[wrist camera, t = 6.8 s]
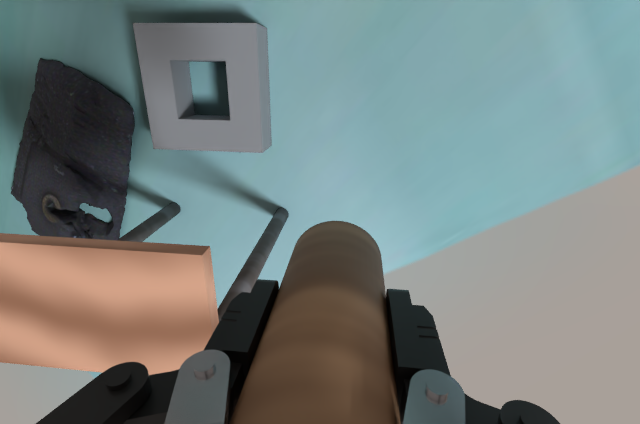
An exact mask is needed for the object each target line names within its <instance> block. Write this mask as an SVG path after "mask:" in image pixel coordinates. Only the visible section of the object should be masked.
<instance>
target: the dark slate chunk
mask: <svg viewBox="0 0 640 424" xmlns="http://www.w3.org/2000/svg"><path fill="white" fill-rule="evenodd" d="M134 122H135V121H134V111H133V108H132V107H131V106H130V105H129V104H127V103H126V102H125V101H124V100H123V99H121V98H120V97H118V96H116V95H114V94H113V93H111V92H110V91H108V90H107V89H106V88H104V87H103V85H101V84H98V83H97V82H95V81H92V80H91V79H88V78H87V77H85V76H84V75H83V74H82V73H81V72H79V71H77V70H75V69H72V68H70V67H65V65H63V64H62V63H61V62H59V61H54V60H48V61H47V60H42V59H41V58H40V60H39V63H38V69H37V73H36V79H35V91H34V93H33V94H32V99H31V102H30V109H29V112H28V116H27V119H26V121H25V126H24V130H23V139H22V141H21V142H20V143H19V144H20V149H19V154H18V157H17V162H16V165H17V167H16V169H15V173H14V181H13V183H14V185H13V186H12V191H11V194H12V195H13V196H14V197H15V198H16V200H18V201H19V202H20V203H22V204H23V207H24V208H25V210H26V211H27V219H28V221H29V223H30V225H31V227H32V230H33V231H34V232H35V233H36V234H38V235H40V236H51V237H68V238H84V239H100V240H116V241H117V240H118V239H119V237H120V229H121V223H122V220H123V215H124V211H125V208H124V206H125V204H126V198H125V197H126V195H127V180H128V177H129V172H130V170H129V162H130V160H131V156H130V155H131V146H132V135H133V131H134V126H135V123H134ZM81 203H86V204H89V206H93V207H97V208H98V207H99V208H101V209H104V208H106V209H108V211H109V212H110V214H111V216H112V218H113V222H111V223H106V222H104V221H102V220H99V219H97V218H96V217H94V216H93V215H92V214H90V213H87V214H85V212H84V211H83V210H81V209H79V206H80V204H81ZM90 204H91V205H90ZM91 237H92V238H91Z"/></svg>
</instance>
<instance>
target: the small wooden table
mask: <svg viewBox="0 0 640 424" xmlns="http://www.w3.org/2000/svg"><path fill="white" fill-rule="evenodd" d="M179 212H180V206H179V205H178V204H177V203H170V204H169V205H167V206H166V207H164V208H163V209H162V210H160V211H159V212H157V213H156V214H154V215H153V216H151V217H150V218H148V219H147V220H146V221H144V222H143V223H141V224H140V225H138V226H137V227H135V228H134V229H133V230H131V231H130V232H128V233H127V234H125V235H124V236H122V237H121V238H120V239H118V240H117V241H116V240H100V239H84V238H68V237H51V236H35V235H19V234H3V233H0V362H3V363H14V364H23V365H33V366H44V367H53V368H63V369H74V370H84V371H93V372H104V371H106V370H107V369H109V368H111V367H113V366H115V365H118V364H121V363H125V362H139V363H141V364H143V365H145V367H146V368H147V370H148V374H149V375H153V374H158V373H164V372H170V371H175V370H178V369H180V367H181V365H182V364H183V362H184V361H185V360H186V359H187V358H189V357H190V356H192V355H193V354H195V353H198V352H200V351H203V350H204V348H205V346H206V345H207V343H208V341H209V339H210V337H211V336H212V334H213V332H214V330H215V329H216V327H217V325H218V323H219V321H221V318H222V316H223V314H224V312H226V309H227V307H228V305H229V304H230V302H231V300H232V299H234V298H235V297H236V296H237V295H239V294H240V293H241V292H249V293H251V291H252V288H253V286H254V284H255V282H256V281H257V279H258V277H259V274H260V272H261V270H262V268H263V266H264V264H265V262H266V260H267V258H268V256H269V254H270V252H271V250H272V248H273V246H274V244H275V242H276V240H277V238H278V236H279V234H280V232H281V230H282V228H283V226H284V224H285V222H286V220H287V218H288V211H287V210H286V209H284V208H279V209H278V210H277V211H276V213H275V214H274V216H273V218H272V219H271V221H270V223H269V224H268V226H267V228H266V229H265V231H264V233H263V234H262V236H261V238H260V239H259V241H258V243H257V244H256V246H255V248H254V249H253V251H252V253H251V254H250V256H249V258H248V259H247V261H246V263H245V264H244V266H243V268H242V269H241V271H240V273H239V274H238V276H237V278H236V279H235V281H234V283H233V284H232V286H231V288H230V289H229V291H228V293H227V294H226V296H225V298H224V299H223V301H222V303H221V304H220V306H219V308H218V309H217V302H216V293H215V285H214V277H213V268H212V260H211V251H210V246H196V245H180V244H164V243H148V242H142V241H144V240H145V239H146V238H148V237H149V236H150V235H151V234H153V233H154V232H155V231H157V230H158V229H159V228H160V227H162V226H163V225H164V224H166V223H167V222H168V221H169V220H171V219H172V218H173V217H175V216H176V215H177V214H178V213H179Z"/></svg>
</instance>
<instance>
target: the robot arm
mask: <svg viewBox="0 0 640 424" xmlns="http://www.w3.org/2000/svg"><path fill="white" fill-rule="evenodd" d="M278 291H279V285H278V281H274V280H260V279H258V280H257V281H256V282H255V284H254V286H253V288H252V291H251V293H249V292H241V293H240V294H239V295H237V296H236V297H235V298H234V299H232V300H231V302H230V304H229V305H228V307H227V309H226V312H224V314H223V316H222V318H221V321H219V323H218V325H217V327H216V329H215V330H214V332H213V334H212V336H211V337H210V339H209V341H208V343H207V345H206V346H205V348H204V350H203V351H200V352H198V353H195V354H193V355H192V356H190V357H189V358H187V359H186V360H185V361H184V362H183V364H182V365H181V367H180V369H178V370H175V371H170V372H164V373H158V374H153V375H149V374H148V370H147V368H146V367H145V365H143V364H141V363H139V362H125V363H121V364H118V365H115V366H113V367H111V368H109V369H107V370H106V371H104V372H103V373H101V374H100V375H99V376H97V377H96V378H95V379H94V380H92V381H91V382H90V383H88V384H87V385H86V386H85V387H83V388H82V389H80V390H79V391H78V392H77V393H75V394H74V395H73V396H71V397H70V398H69V399H67V400H66V401H65V402H64V403H62V404H61V405H60V406H58V407H57V408H56V409H54V410H53V411H52V412H50V413H49V414H48V415H47V416H45V417H44V418H43V419H41V420H40V421H39V422H38V423H36V424H230V421H231V418H232V415H233V413H234V410H235V407H236V405H237V402H238V399H239V396H240V394H241V391H242V388H243V386H244V383H245V380H246V378H247V375H248V372H249V369H250V367H251V364H252V361H253V359H254V356H255V353H256V350H257V348H258V345H259V342H260V340H261V337H262V334H263V332H264V329H265V326H266V323H267V321H268V318H269V315H270V313H271V310H272V307H273V304H274V302H275V299H276V296H277V294H278ZM386 304H387V312H388V321H389V329H390V338H391V347H392V355H393V364H394V372H395V381H396V389H397V396H398V405H399V413H400V422H401V424H560V423H559V422H558V421H557V420H556V419H555V418H554V417H553V416H552V415H551V414H550V413H548V412H547V411H546V410H544V409H543V408H541V407H539V406H537V405H535V404H532V403H530V402H526V401H521V400H513V401H509V402H507V403H505V404H504V405H503V406H502V408H501V410H500V409H497V408H494V407H492V406H489V405H486V404H484V403H481V402H479V401H476V400H474V399H472V398H470V397H469V396H467V395H466V394H465V393H464V391H463V389H462V388H461V386H460V385H459V383H458V382H457V381H456V380H455V379H453V378H452V377H451V375H450V372H449V369H448V366H447V362H446V359H445V356H444V352H443V349H442V346H441V343H440V340H439V336H438V332H437V330H436V326H435V322H434V319H433V316H432V315H431V314H430V313H429V311H428V310H427V309H426V308H425V307H424V306H418V305H412V303H411V299H410V294H409V291H408V290H397V289H387V293H386Z"/></svg>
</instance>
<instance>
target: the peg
mask: <svg viewBox="0 0 640 424" xmlns="http://www.w3.org/2000/svg"><path fill="white" fill-rule="evenodd" d="M230 424H401V422H400V413H399V405H398V396H397V389H396V381H395V372H394V364H393V355H392V347H391V338H390V329H389V321H388V312H387V304H386V294H385V286H384V277H383V269H382V260H381V253H380V250H379V248H378V245H377V243H376V242H375V240H374V239H373V238H372V237H371V235H370V234H368V233H367V232H366V231H365V230H363V229H362V228H360V227H358V226H356V225H354V224H351V223H348V222H343V221H328V222H323V223H320V224H317V225H315V226H313V227H311V228H309V229H308V230H307V231H305V232H304V233H303V234H302V235H301V237H300V238H299V239H298V241H297V243H296V245H295V248H294V250H293V253H292V256H291V258H290V261H289V264H288V267H287V269H286V272H285V275H284V277H283V280H282V283H281V286H280V288H279V291H278V294H277V296H276V299H275V302H274V304H273V307H272V310H271V313H270V315H269V318H268V321H267V323H266V326H265V329H264V332H263V334H262V337H261V340H260V342H259V345H258V348H257V350H256V353H255V356H254V359H253V361H252V364H251V367H250V369H249V372H248V375H247V378H246V380H245V383H244V386H243V388H242V391H241V394H240V396H239V399H238V402H237V405H236V407H235V410H234V413H233V415H232V418H231V421H230Z"/></svg>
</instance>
